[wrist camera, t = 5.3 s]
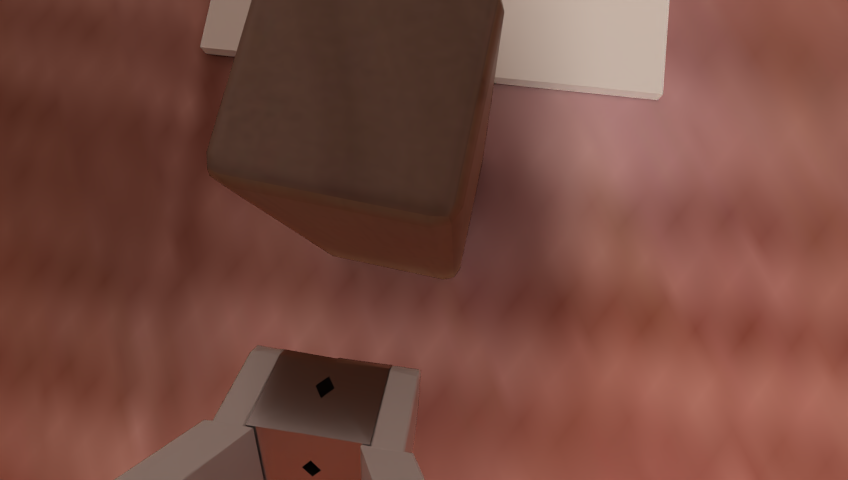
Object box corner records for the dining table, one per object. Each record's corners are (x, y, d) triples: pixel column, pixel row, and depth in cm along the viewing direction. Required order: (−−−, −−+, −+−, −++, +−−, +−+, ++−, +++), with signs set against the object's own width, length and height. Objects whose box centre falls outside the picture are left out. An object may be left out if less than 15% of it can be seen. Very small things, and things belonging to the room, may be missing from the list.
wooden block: (484, 152, 16) (511, -28, 8) (456, 283, 15) (457, 227, 7) (354, 127, 16) (259, -67, 8) (322, 255, 16) (187, 173, 8)
